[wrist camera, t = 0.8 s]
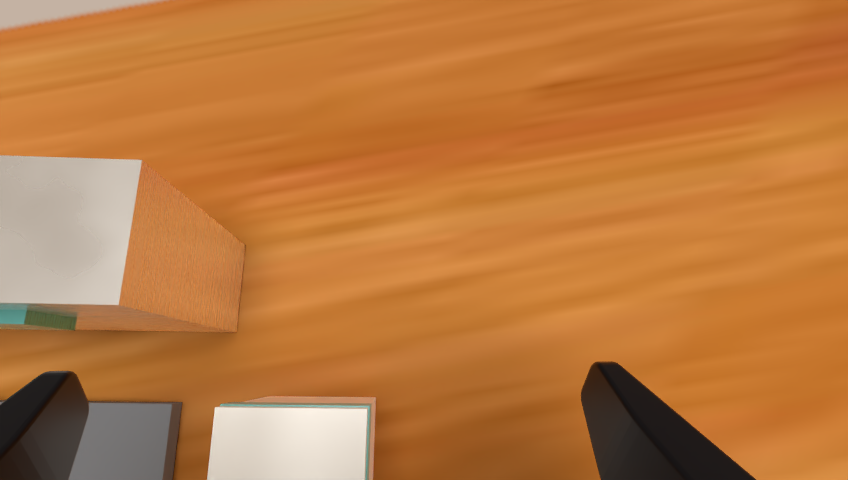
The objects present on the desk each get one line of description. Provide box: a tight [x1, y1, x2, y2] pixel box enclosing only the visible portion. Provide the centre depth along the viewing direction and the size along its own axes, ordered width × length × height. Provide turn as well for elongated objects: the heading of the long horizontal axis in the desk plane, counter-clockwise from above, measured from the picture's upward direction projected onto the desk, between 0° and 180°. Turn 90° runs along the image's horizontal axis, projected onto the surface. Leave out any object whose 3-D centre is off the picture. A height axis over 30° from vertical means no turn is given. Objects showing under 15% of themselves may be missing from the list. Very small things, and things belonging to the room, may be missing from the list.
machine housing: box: [0, 155, 245, 332], centre depth 18 cm, size 4×12×10 cm, turn 89°
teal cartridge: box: [207, 396, 376, 480], centre depth 18 cm, size 5×5×7 cm
